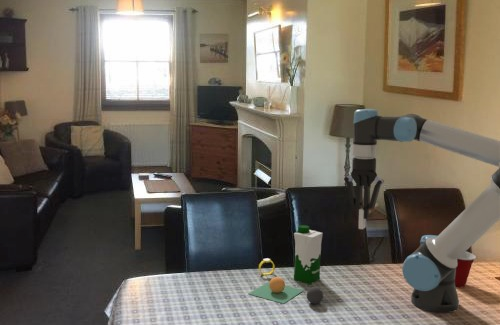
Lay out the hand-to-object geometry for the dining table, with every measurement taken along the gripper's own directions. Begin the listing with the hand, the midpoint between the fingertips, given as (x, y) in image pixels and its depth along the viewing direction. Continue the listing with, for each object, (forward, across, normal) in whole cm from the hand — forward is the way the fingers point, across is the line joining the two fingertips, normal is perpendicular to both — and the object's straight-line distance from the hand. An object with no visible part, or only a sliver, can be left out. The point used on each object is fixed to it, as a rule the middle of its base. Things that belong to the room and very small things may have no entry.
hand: (362, 227), depth 186 cm
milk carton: (+25, +24, -8) cm, 35 cm away
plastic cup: (+26, -24, -35) cm, 50 cm away
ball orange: (+22, +27, +9) cm, 36 cm away
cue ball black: (+23, +12, +10) cm, 27 cm away
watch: (+25, +39, -4) cm, 46 cm away
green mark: (+25, +27, +9) cm, 38 cm away
